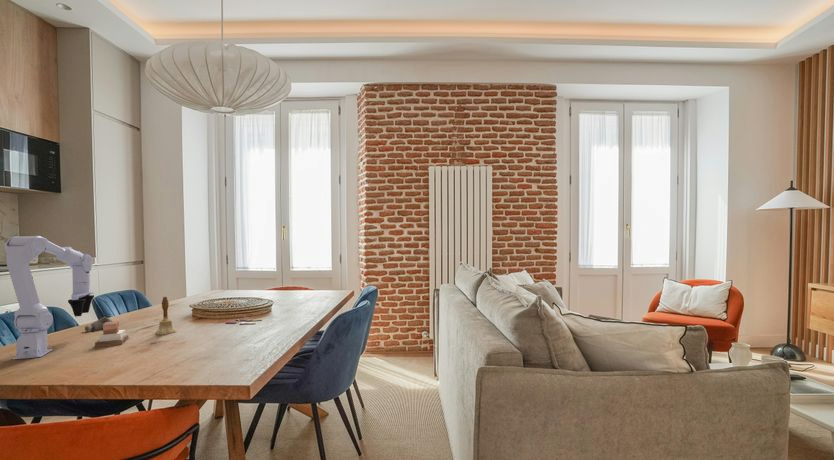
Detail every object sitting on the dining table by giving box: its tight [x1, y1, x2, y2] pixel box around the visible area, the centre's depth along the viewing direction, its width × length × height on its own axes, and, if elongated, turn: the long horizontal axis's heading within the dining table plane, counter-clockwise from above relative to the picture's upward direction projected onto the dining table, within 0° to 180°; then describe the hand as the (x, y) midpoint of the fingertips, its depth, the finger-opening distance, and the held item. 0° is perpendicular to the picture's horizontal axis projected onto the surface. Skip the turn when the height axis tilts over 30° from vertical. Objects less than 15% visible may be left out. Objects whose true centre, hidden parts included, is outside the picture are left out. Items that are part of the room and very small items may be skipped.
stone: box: [84, 316, 113, 333], centre depth 194 cm, size 10×5×8 cm
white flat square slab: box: [98, 329, 126, 342], centre depth 170 cm, size 7×7×2 cm
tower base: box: [94, 334, 129, 348], centre depth 170 cm, size 9×9×2 cm
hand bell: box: [154, 296, 177, 336], centre depth 187 cm, size 8×8×16 cm
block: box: [102, 321, 120, 335], centre depth 170 cm, size 4×4×4 cm
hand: (81, 314), depth 177 cm, fingers open, 7 cm apart
